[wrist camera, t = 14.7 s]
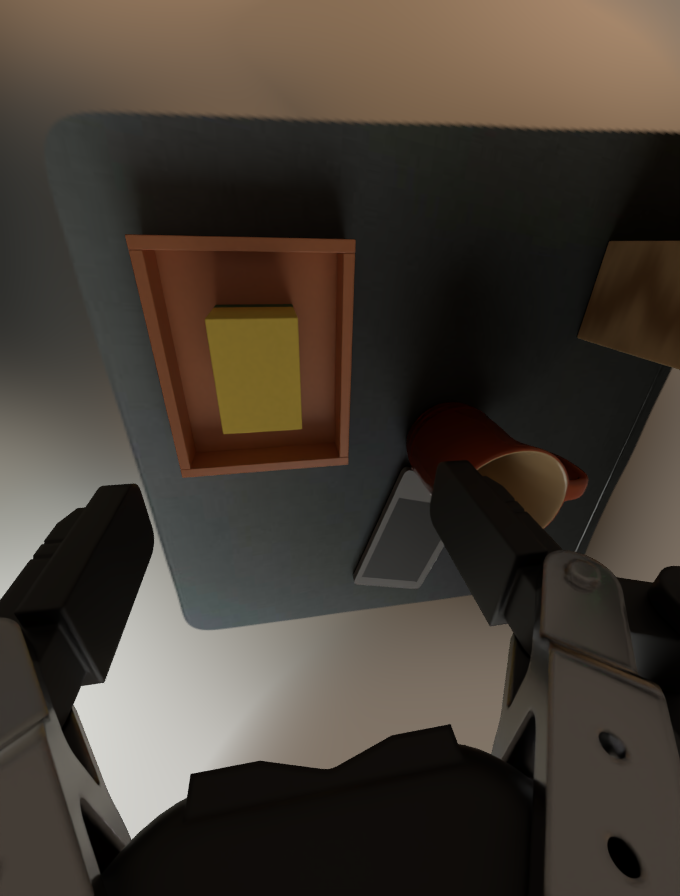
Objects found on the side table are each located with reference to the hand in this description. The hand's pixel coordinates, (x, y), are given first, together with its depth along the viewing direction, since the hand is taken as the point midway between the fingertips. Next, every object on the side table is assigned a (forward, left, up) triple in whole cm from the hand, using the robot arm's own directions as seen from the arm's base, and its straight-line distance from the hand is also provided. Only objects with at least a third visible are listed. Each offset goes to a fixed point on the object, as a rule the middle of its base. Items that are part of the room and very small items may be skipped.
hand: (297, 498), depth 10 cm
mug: (+6, +17, -19) cm, 26 cm away
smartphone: (+17, +16, -19) cm, 30 cm away
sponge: (+1, -1, -18) cm, 18 cm away
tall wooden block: (-8, +27, -19) cm, 34 cm away
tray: (+2, -1, -19) cm, 19 cm away
